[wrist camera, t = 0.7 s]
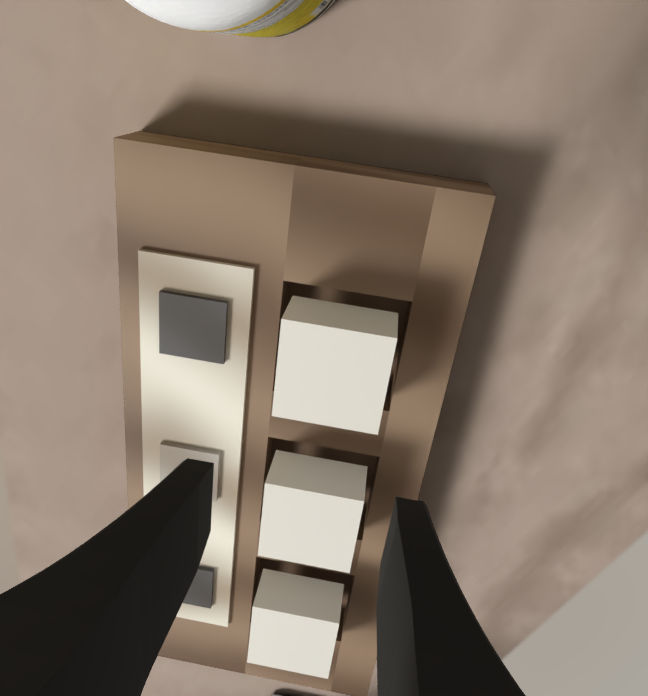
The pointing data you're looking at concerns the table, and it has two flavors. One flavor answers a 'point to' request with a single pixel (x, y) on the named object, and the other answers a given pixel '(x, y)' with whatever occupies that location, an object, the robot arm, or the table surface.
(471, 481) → the table surface
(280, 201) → the button board
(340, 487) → the button middle
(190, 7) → the supplement bottle
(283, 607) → the button
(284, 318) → the button
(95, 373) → the table surface
